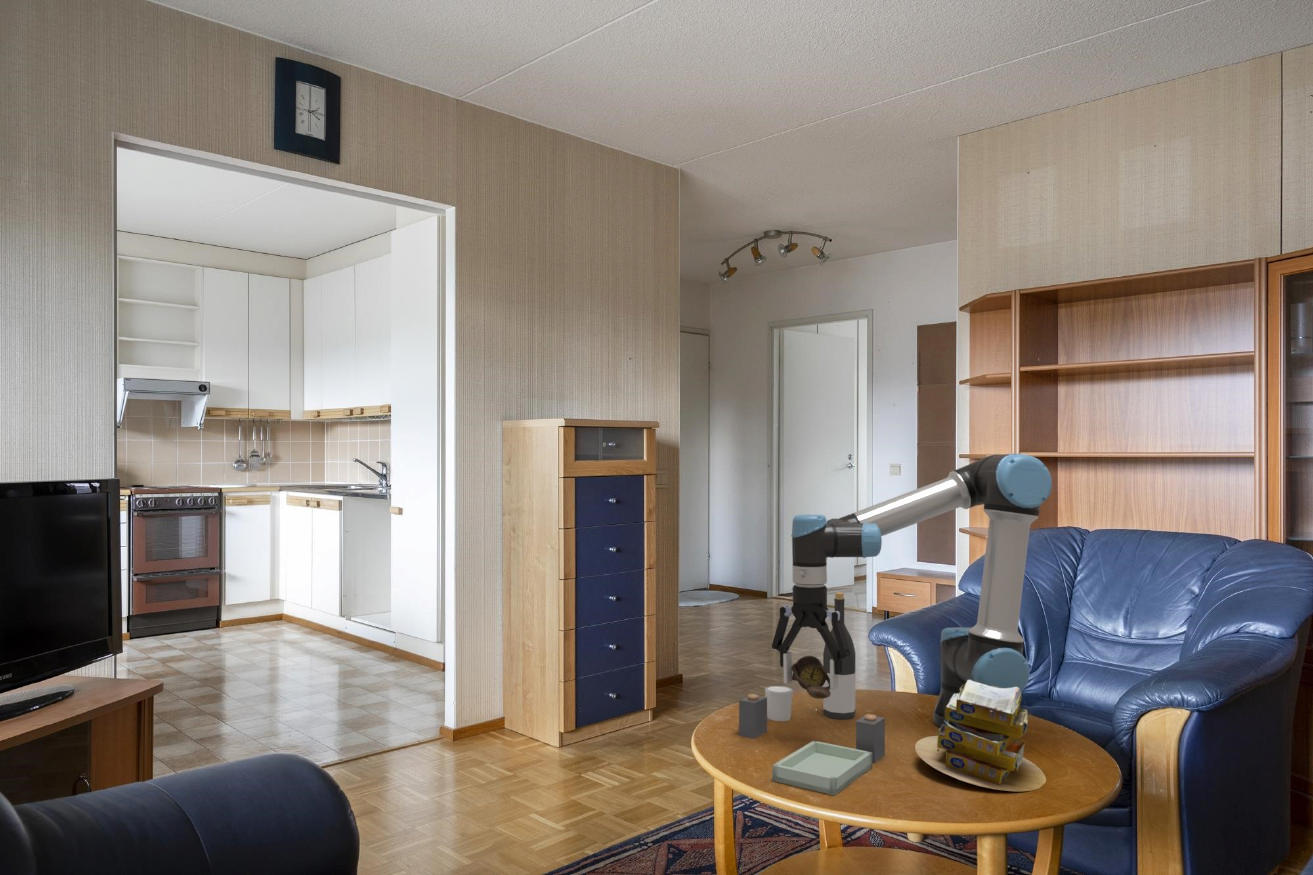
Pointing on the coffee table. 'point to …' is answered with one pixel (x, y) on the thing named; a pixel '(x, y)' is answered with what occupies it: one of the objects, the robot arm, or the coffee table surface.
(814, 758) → the sage tray
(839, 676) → the wine bottle
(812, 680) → the brown alarm clock
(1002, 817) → the coffee table surface
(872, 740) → the block
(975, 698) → the plate of stacked boxes
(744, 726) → the far-side block
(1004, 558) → the robot arm
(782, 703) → the light grey cylinder
